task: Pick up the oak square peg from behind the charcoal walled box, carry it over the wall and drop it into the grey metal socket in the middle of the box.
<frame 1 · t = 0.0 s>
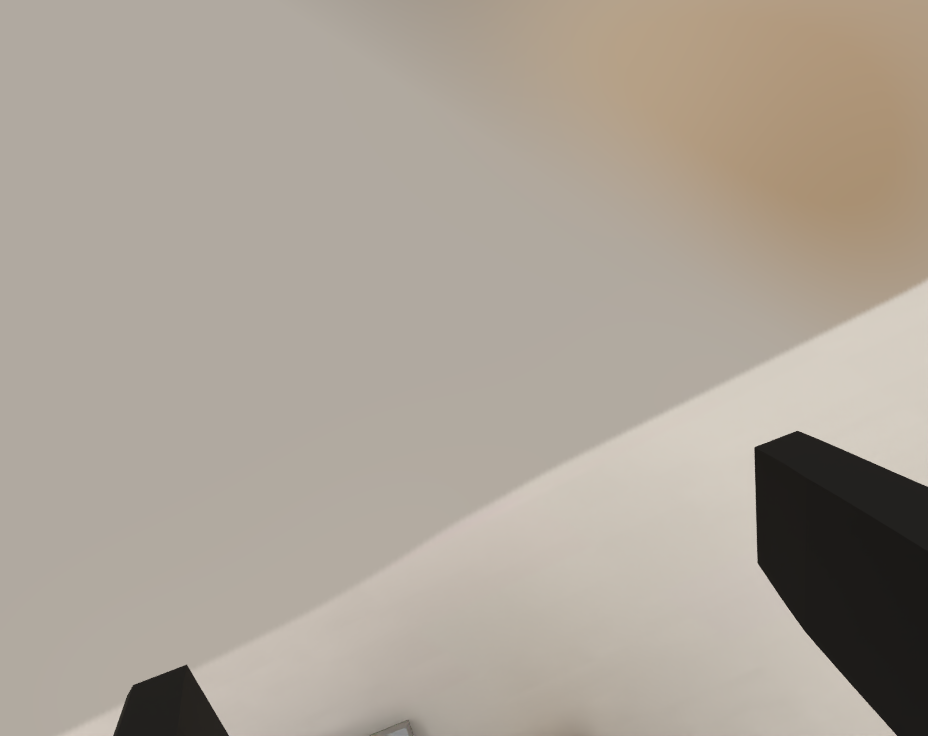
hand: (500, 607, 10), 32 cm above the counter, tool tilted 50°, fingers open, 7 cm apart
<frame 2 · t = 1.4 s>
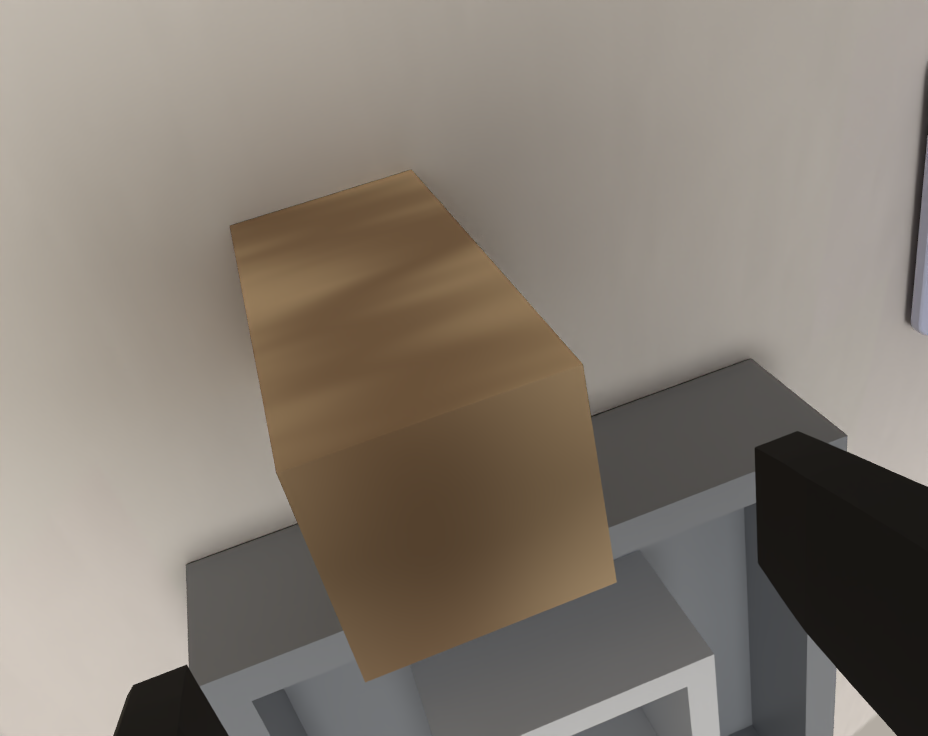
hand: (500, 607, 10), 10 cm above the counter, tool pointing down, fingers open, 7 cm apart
socket box: (531, 651, 27), on the counter
peg: (348, 280, 19), on the counter
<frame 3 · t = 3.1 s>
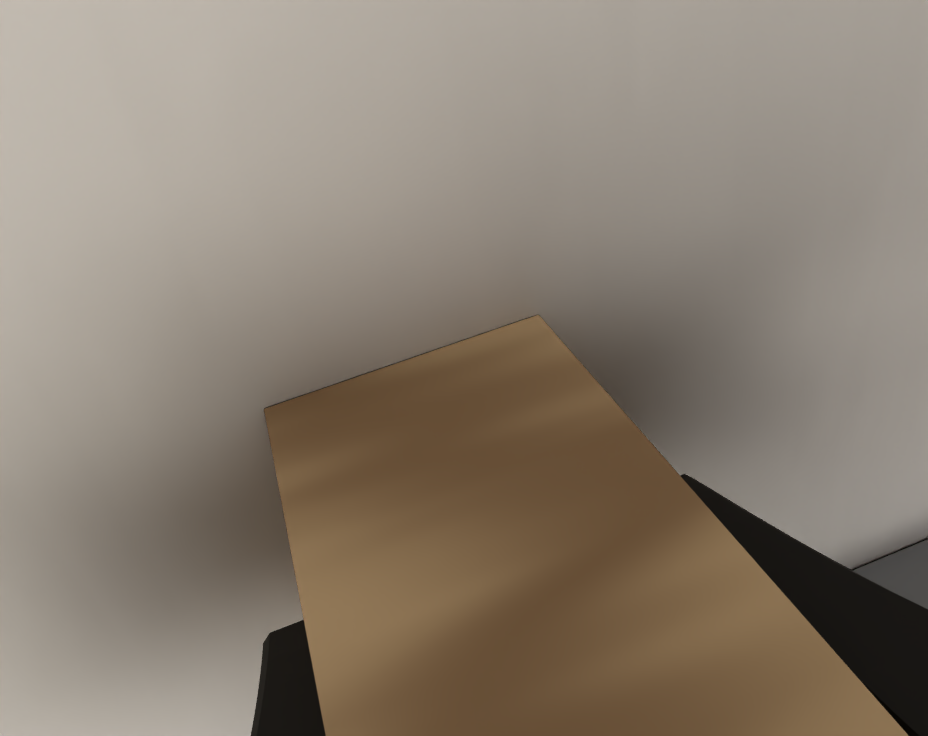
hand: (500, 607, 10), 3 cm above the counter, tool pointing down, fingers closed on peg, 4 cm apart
peg: (436, 470, 13), on the counter, touching gripper
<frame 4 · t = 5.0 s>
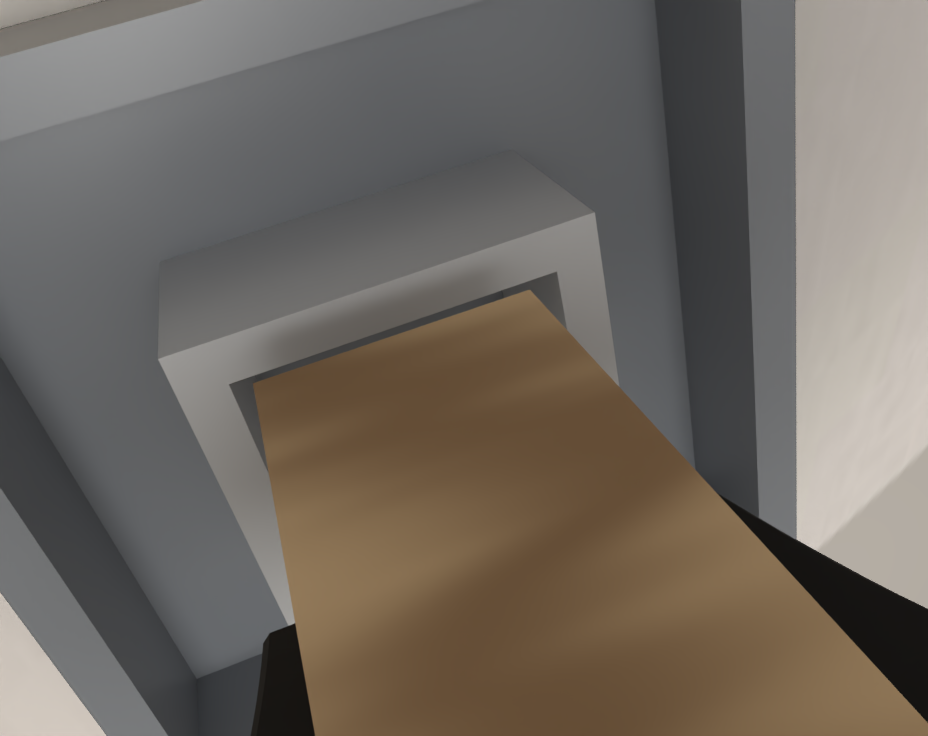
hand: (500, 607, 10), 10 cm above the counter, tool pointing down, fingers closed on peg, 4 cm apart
socket box: (379, 336, 19), on the counter
peg: (427, 448, 13), point 7 cm above the counter, touching gripper
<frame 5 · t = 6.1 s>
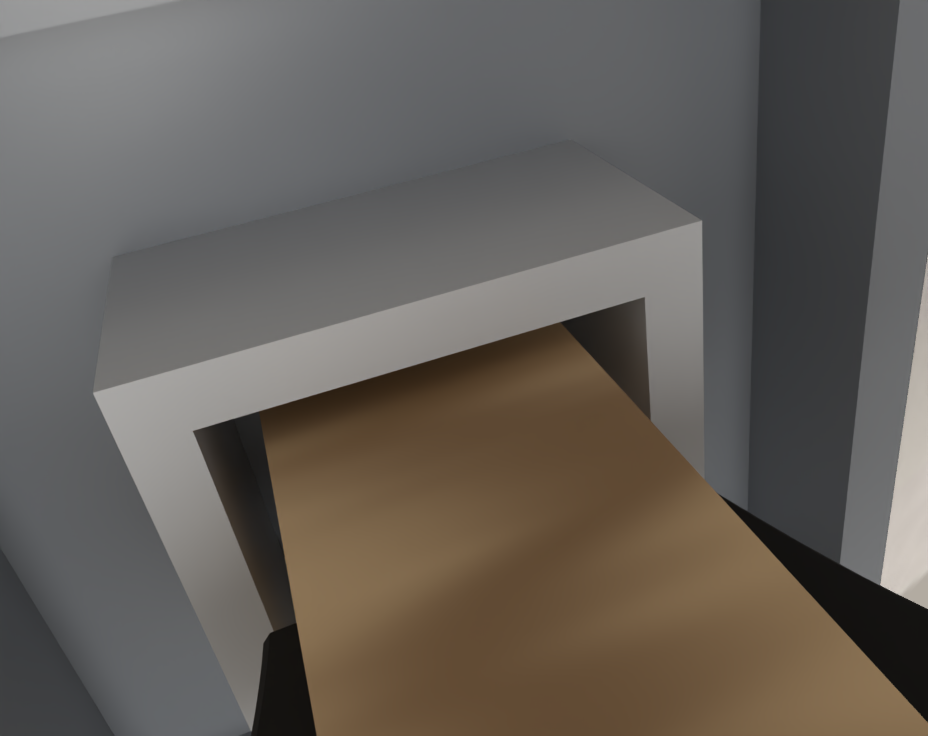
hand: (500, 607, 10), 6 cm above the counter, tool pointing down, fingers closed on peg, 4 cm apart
socket box: (386, 363, 16), on the counter
peg: (428, 448, 13), point 3 cm above the counter, touching gripper
when the fingers open (6 cm above the counter, at t = 6.8 s): peg drops 2 cm, resting on socket box.
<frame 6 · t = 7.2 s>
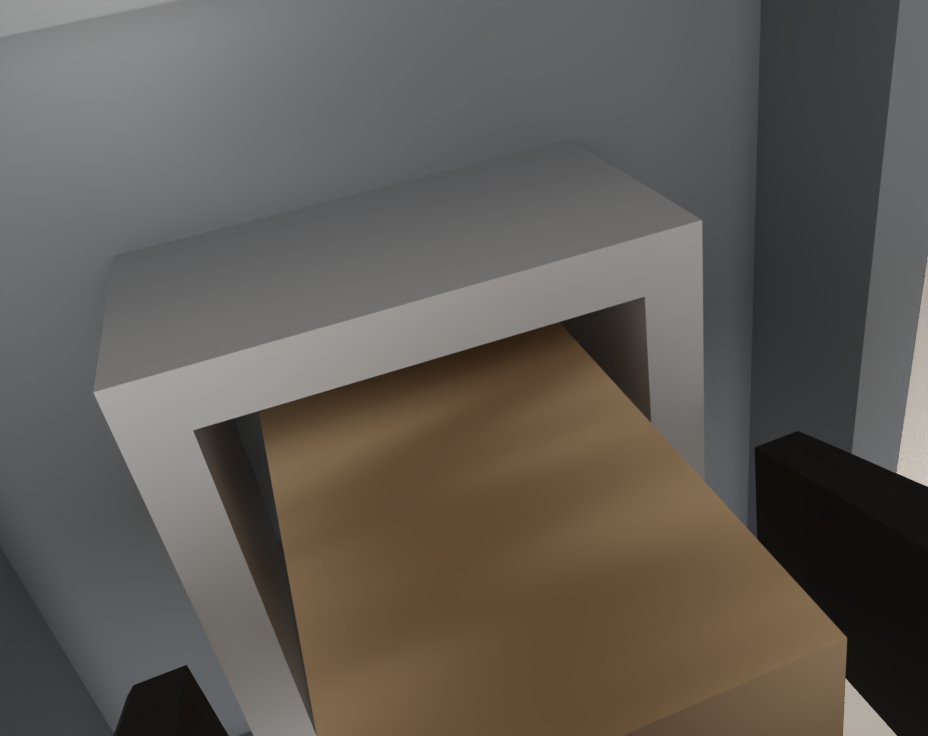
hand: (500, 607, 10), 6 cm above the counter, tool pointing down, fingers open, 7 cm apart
socket box: (386, 363, 16), on the counter
peg: (394, 374, 15), point 1 cm above the counter, touching socket box
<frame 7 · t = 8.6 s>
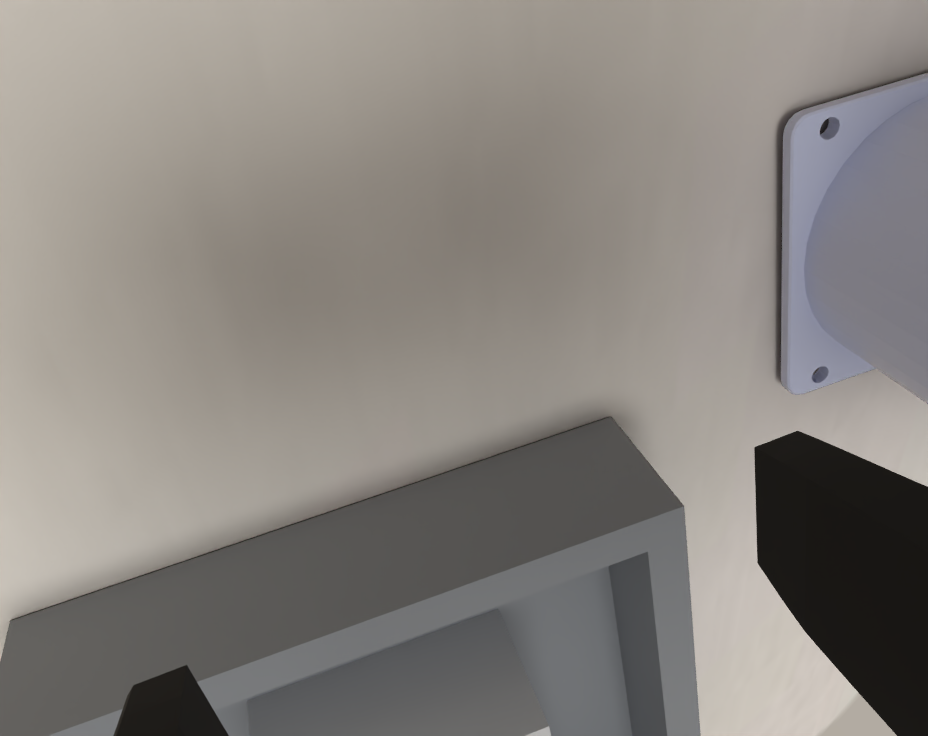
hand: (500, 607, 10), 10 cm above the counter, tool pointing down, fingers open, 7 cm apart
socket box: (397, 705, 26), on the counter
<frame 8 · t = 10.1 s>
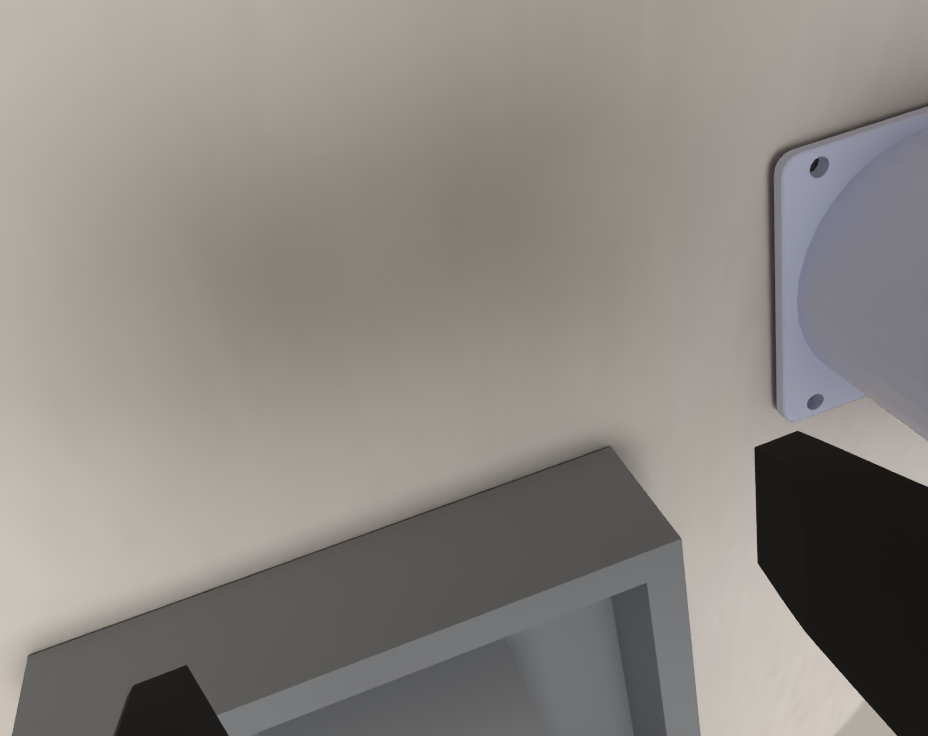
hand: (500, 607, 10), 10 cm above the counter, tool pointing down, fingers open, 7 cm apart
socket box: (405, 728, 27), on the counter
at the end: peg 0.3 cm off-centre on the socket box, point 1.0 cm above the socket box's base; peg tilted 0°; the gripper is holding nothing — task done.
